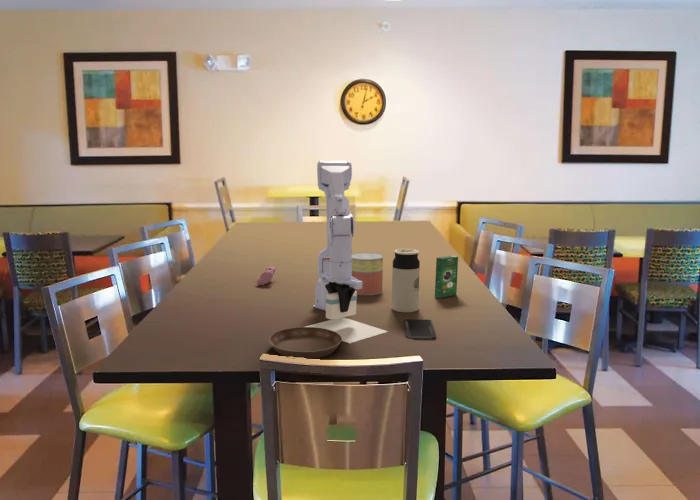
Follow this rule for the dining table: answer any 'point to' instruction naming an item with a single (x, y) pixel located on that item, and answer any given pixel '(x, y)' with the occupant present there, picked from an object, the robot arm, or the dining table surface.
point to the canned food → (368, 272)
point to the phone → (419, 329)
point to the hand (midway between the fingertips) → (340, 310)
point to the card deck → (334, 306)
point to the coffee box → (446, 276)
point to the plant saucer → (305, 342)
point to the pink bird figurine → (266, 276)
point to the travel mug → (405, 280)
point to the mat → (349, 329)
